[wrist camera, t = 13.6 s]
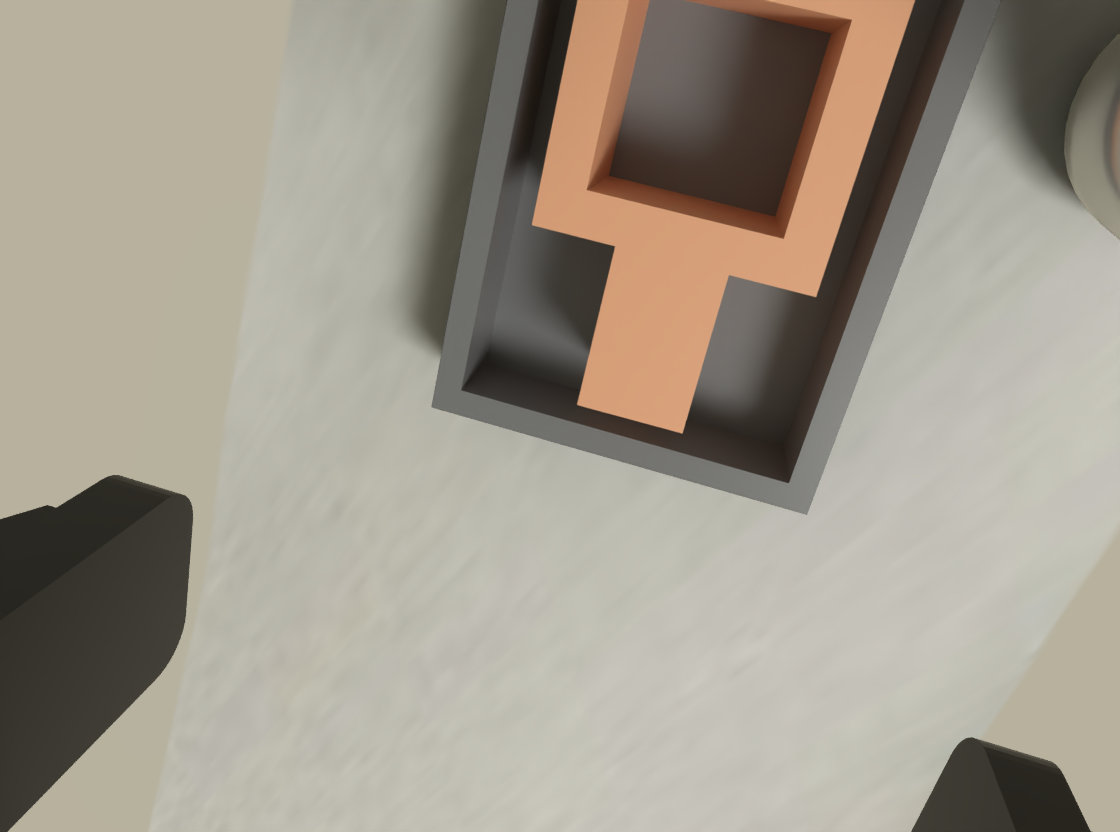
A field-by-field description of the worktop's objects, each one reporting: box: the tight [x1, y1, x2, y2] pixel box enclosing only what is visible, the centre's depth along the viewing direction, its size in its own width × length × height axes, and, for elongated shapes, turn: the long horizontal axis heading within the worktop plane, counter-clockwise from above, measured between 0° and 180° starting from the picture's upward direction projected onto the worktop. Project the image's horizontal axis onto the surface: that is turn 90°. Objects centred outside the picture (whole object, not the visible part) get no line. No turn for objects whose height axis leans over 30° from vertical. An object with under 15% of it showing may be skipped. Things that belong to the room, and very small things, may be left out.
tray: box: [432, 0, 1001, 515], centre depth 25 cm, size 16×12×4 cm
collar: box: [532, 0, 915, 433], centre depth 24 cm, size 12×8×4 cm, turn 168°
